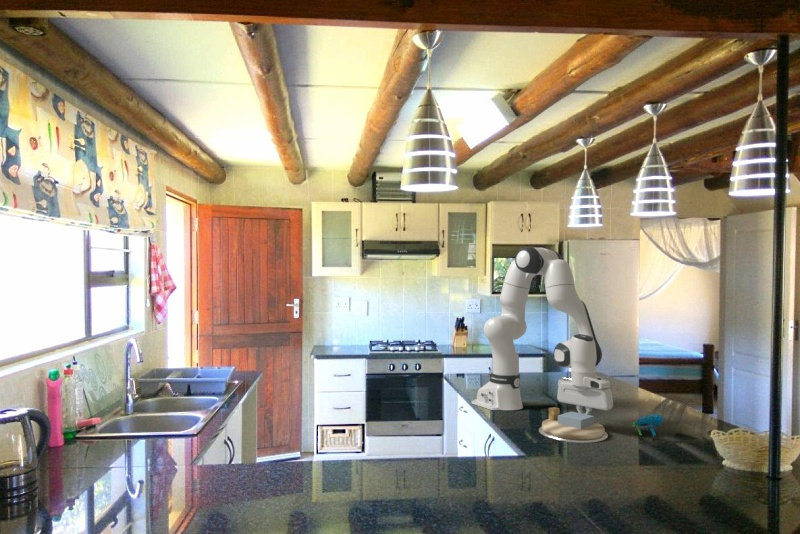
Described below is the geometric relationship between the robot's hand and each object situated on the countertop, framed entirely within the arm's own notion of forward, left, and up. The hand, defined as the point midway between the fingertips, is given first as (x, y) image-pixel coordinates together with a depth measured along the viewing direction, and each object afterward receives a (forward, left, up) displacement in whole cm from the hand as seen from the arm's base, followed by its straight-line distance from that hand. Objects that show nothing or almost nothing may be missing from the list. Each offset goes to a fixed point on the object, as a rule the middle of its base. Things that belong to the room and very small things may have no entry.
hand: (584, 418), depth 192 cm
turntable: (0, -8, -4) cm, 9 cm away
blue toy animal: (+17, +12, -4) cm, 21 cm away
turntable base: (0, -8, -4) cm, 9 cm away
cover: (0, -5, -1) cm, 6 cm away
